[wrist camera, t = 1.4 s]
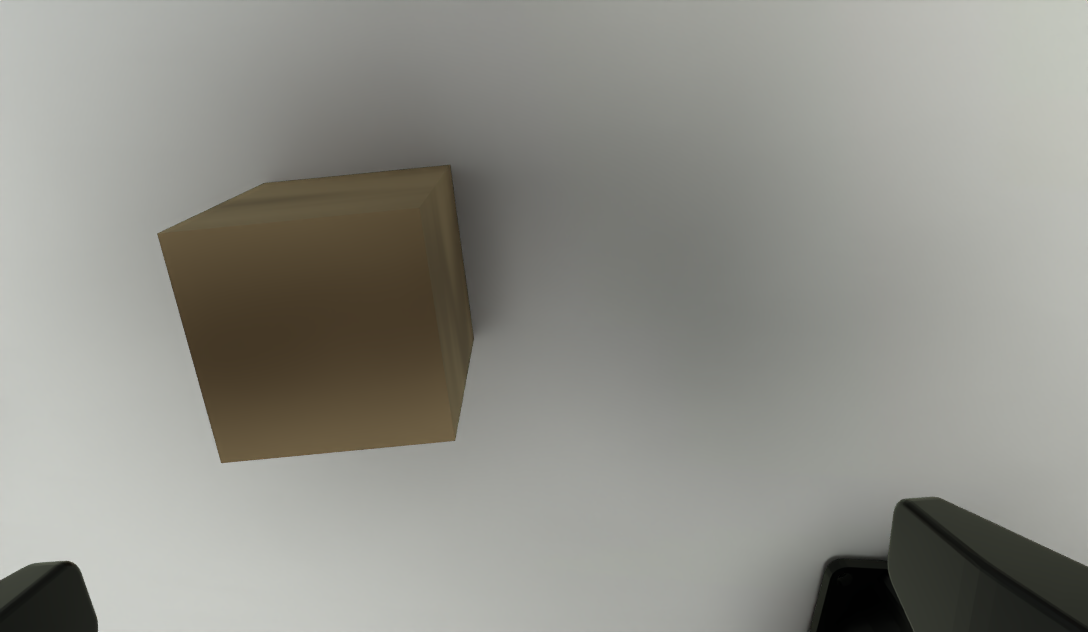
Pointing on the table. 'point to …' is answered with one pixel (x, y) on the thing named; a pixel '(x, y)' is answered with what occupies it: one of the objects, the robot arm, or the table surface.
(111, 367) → the table surface
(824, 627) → the robot arm
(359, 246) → the walnut block
